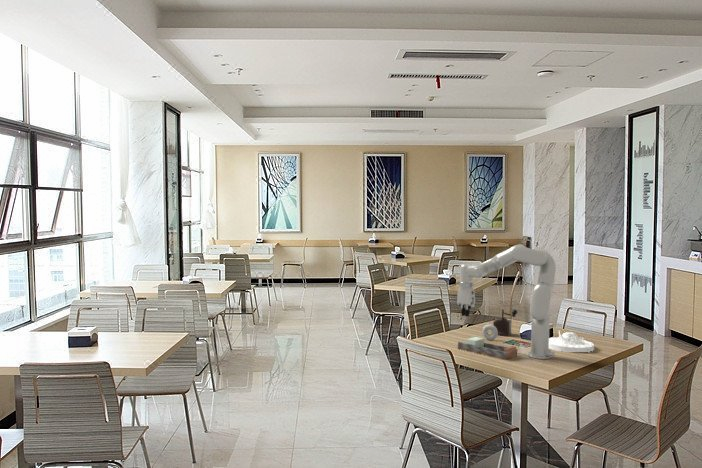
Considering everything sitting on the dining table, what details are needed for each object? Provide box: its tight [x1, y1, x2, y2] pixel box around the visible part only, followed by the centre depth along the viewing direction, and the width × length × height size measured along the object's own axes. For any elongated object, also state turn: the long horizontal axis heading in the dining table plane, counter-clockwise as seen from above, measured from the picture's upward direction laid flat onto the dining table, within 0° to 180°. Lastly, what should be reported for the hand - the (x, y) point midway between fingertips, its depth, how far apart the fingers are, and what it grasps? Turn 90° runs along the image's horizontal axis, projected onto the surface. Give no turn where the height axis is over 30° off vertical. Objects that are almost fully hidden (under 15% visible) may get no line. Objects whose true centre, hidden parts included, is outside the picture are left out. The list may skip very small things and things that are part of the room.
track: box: [457, 341, 518, 361], centre depth 320 cm, size 32×12×6 cm, turn 42°
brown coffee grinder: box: [492, 309, 518, 337], centre depth 369 cm, size 16×11×18 cm
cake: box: [549, 330, 595, 353], centre depth 336 cm, size 28×28×10 cm
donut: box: [481, 323, 499, 341], centre depth 353 cm, size 10×4×10 cm, turn 62°
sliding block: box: [466, 336, 485, 347], centre depth 326 cm, size 6×9×5 cm
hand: (465, 315), depth 331 cm, fingers closed
